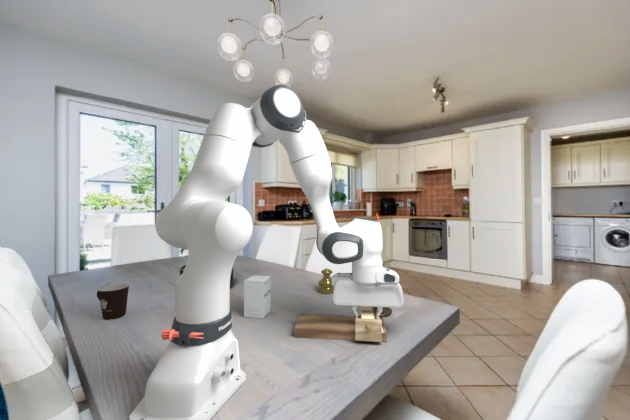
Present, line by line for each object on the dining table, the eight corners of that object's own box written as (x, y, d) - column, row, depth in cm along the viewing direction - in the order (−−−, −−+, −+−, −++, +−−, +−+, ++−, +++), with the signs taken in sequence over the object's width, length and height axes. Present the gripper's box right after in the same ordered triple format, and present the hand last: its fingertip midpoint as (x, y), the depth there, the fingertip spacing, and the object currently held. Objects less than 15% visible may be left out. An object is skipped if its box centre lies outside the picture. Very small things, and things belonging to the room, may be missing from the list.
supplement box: (263, 319, 93) (263, 281, 92) (243, 317, 94) (242, 280, 94) (271, 310, 100) (271, 275, 100) (252, 309, 101) (252, 274, 101)
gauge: (382, 343, 74) (382, 323, 74) (355, 342, 74) (355, 322, 74) (377, 325, 85) (377, 307, 85) (354, 323, 86) (354, 306, 86)
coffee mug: (132, 315, 96) (132, 287, 96) (101, 323, 90) (100, 293, 89) (123, 307, 104) (123, 280, 104) (94, 314, 98) (94, 285, 97)
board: (386, 342, 76) (386, 332, 76) (294, 337, 80) (294, 328, 80) (382, 325, 87) (382, 316, 87) (300, 321, 91) (300, 313, 90)
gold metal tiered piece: (335, 294, 117) (335, 270, 117) (318, 294, 117) (318, 270, 117) (334, 289, 125) (334, 266, 125) (318, 289, 125) (318, 267, 125)
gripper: (330, 275, 79) (330, 323, 79) (405, 277, 76) (404, 327, 77) (332, 269, 85) (332, 314, 85) (400, 271, 83) (400, 317, 83)
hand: (367, 320), depth 81 cm, fingers closed on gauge, 3 cm apart
